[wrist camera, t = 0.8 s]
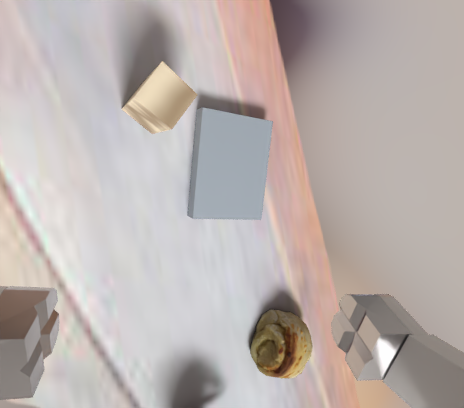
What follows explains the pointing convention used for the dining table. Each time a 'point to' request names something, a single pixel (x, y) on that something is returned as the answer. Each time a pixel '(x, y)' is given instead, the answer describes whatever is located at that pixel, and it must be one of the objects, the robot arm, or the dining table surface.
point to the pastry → (281, 344)
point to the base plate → (228, 166)
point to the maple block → (160, 100)
